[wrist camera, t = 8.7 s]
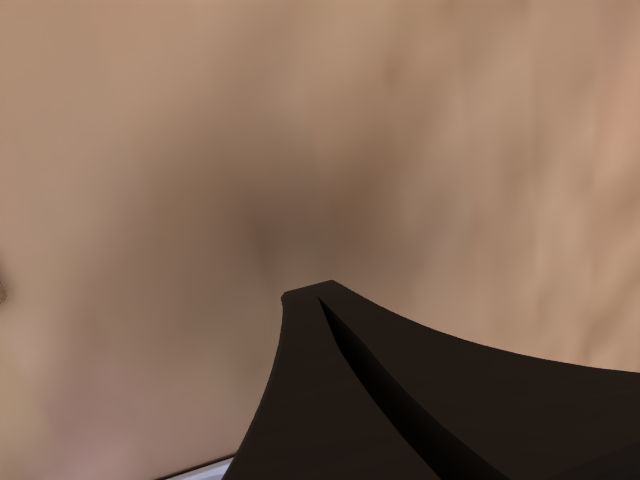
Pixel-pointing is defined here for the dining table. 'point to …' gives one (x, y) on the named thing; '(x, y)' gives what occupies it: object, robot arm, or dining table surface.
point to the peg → (2, 293)
